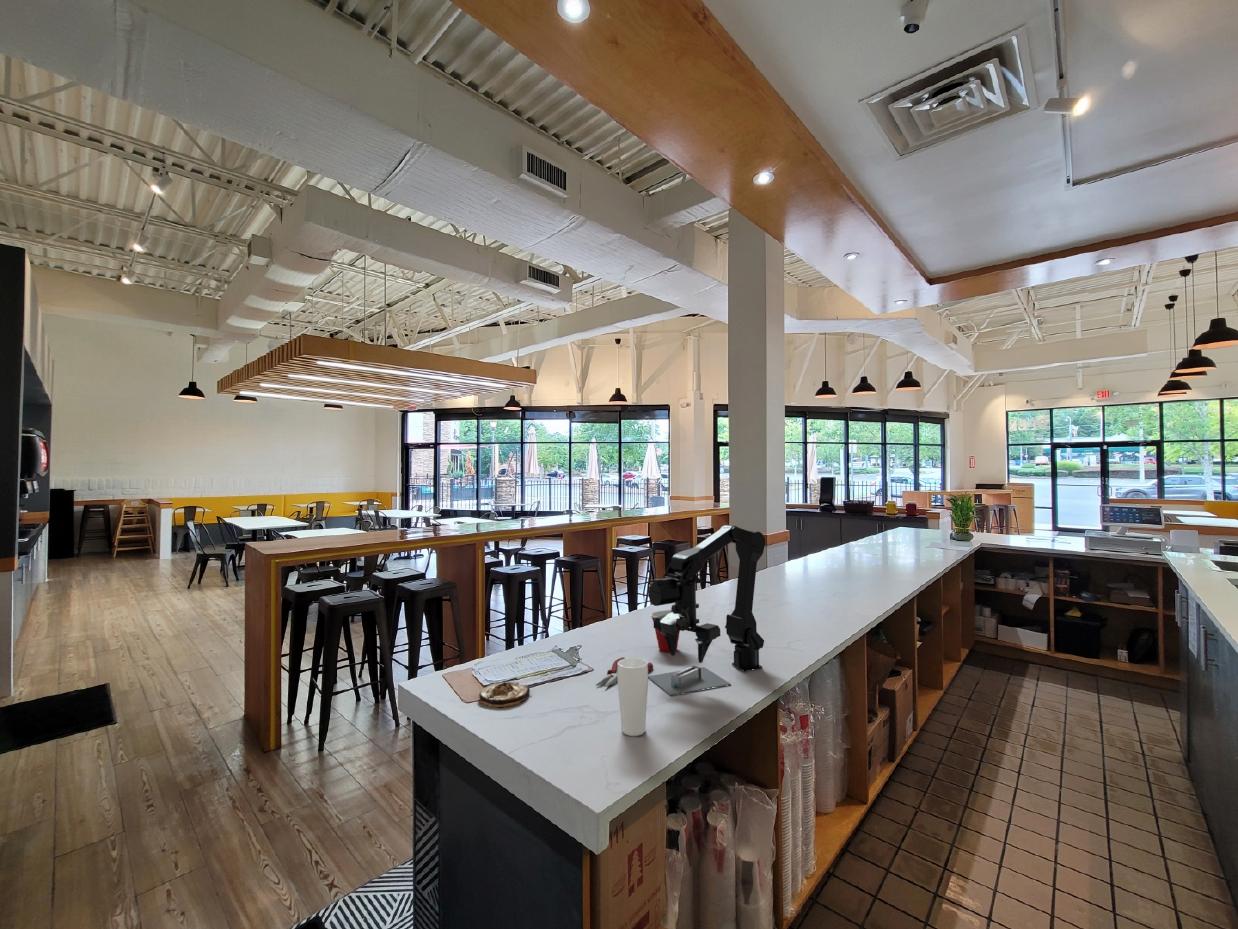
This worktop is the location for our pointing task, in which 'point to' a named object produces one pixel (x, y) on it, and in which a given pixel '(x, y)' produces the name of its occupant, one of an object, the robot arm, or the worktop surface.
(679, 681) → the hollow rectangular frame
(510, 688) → the pie
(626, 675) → the white tumbler
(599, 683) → the pliers
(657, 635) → the plastic cup
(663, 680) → the mat
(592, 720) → the worktop surface
